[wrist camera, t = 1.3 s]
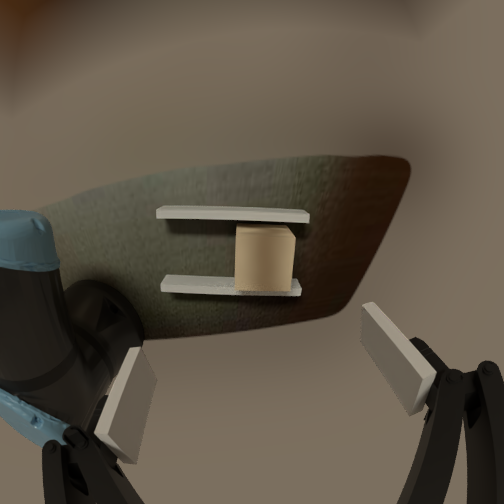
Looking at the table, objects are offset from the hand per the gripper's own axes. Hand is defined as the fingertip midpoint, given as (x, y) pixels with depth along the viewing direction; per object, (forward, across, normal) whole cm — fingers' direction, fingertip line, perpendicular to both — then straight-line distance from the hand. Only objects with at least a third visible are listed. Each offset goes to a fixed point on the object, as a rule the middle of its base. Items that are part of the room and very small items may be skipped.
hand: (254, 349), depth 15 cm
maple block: (+20, +2, -1) cm, 20 cm away
